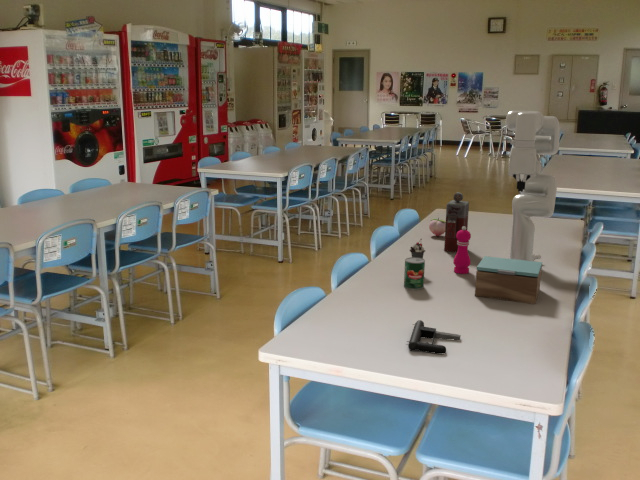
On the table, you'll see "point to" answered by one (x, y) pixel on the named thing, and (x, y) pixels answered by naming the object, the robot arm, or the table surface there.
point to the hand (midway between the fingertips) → (520, 191)
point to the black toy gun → (428, 333)
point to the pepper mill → (462, 252)
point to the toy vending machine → (455, 221)
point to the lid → (510, 266)
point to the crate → (507, 286)
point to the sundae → (417, 250)
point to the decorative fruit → (437, 227)
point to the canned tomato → (414, 273)
